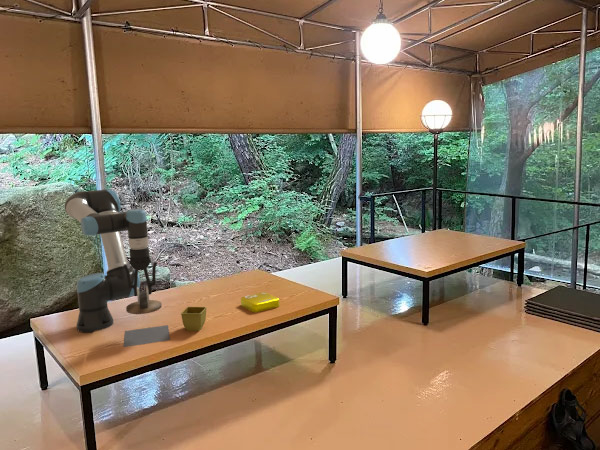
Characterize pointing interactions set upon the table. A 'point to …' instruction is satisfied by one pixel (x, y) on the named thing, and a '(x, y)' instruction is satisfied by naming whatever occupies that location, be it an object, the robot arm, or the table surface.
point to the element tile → (259, 302)
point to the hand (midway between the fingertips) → (143, 302)
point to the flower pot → (194, 318)
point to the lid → (143, 305)
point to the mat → (146, 335)
